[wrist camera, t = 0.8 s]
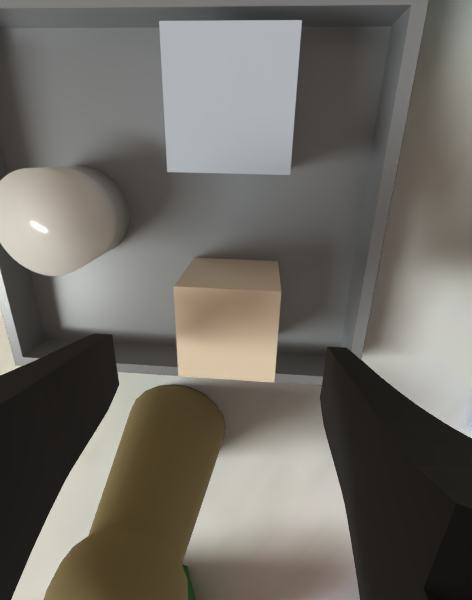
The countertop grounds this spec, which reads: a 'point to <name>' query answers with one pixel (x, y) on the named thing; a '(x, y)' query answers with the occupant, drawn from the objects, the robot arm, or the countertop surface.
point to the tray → (206, 186)
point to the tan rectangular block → (228, 319)
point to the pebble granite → (60, 217)
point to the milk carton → (189, 585)
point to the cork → (147, 502)
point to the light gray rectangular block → (229, 95)
